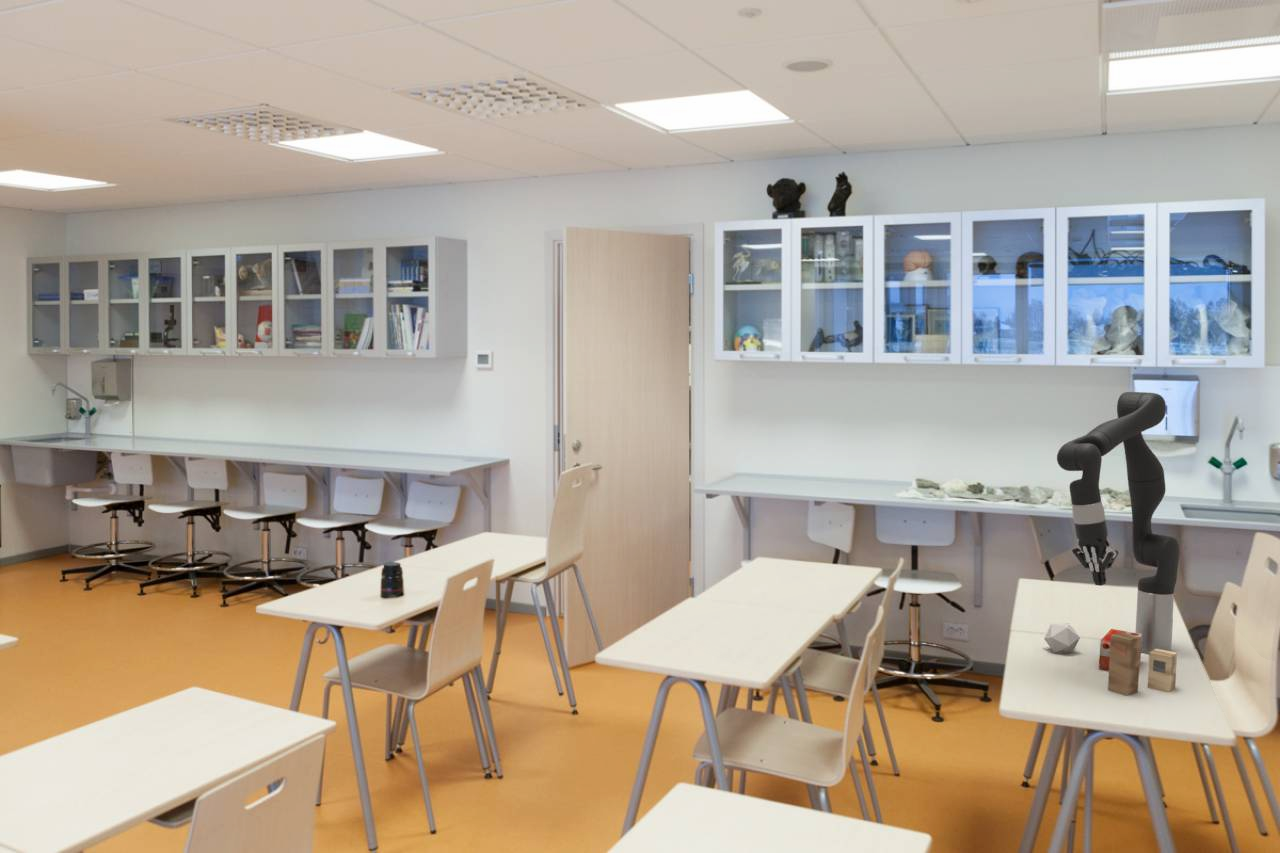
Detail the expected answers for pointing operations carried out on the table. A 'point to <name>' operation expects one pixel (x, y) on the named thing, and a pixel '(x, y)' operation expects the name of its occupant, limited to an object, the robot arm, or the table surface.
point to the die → (1061, 638)
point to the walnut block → (1124, 663)
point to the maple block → (1162, 670)
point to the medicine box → (1105, 648)
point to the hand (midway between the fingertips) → (1100, 584)
